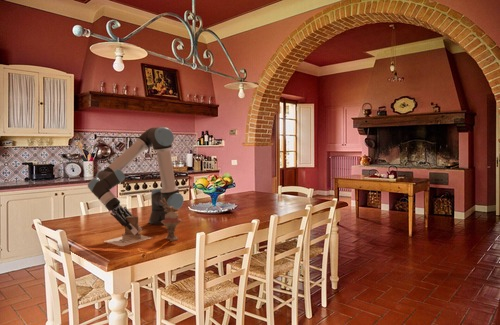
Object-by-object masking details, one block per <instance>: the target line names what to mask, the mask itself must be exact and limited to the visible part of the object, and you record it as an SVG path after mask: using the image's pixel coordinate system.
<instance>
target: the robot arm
mask: <svg viewBox="0 0 500 325" xmlns="http://www.w3.org/2000/svg"><path fill="white" fill-rule="evenodd" d="M135 139H136V140H135V142H133V144H131V145H130V146H129V147H128V148H126V150H124V152H123V153H121V154H120V155H119V156H118V157H117V158H116V159H114V160H113V161H112V162H110V164H108V166H106V167H105V168H104V169H103V170H100V171H98V172H97V173H96V174H95V178H92V179H91V180H90V181H89V182H88V183H87V188H88V189H89V190H90V192H91V193H92V194H93V195H94V196H95V197H96V198H97V199H98V200H99V201H100V202H101V204H102V205H103V206H104V207H105V209H107V210H108V211H109V212H110V211H111V212H110V215H111V216H112V217H113V218H114V219H115V220H116V221H117V222H118V223H119V224H120V225H121V227H123V228H125V227H126V226H127V228H128V229H129V230H130V231H131V232H132V233H133V234H134V235H135V234H136V233H137V232H138V233H140V232H141V231H142V230H143V228H142V227H141V226H140V225H139V224H138V231H137V229H136V228H135V227H134V226H133V225H132V224H131V223H129V222H128V221H127V219H126V218H125V217H128V216H134V215H133V214H132V212H130V210H129V209H128V208H127V206H122V205H121V201H120V200H119V199H118V197H116V195H115V194H114V193H113V192H112V191H111V190H112V189H113V188H114V187H115V186H117V185H119V184H120V183H122V182H123V181H124V180H125V179H126V175H125V173H124V172H123V170H124V169H125V168H127V167H128V165H130V164H131V163H132V162H133V161H134V160H135V159H137V157H139V156H140V155H141V154H142V153H143V152H144V151H148V150H149V149H150V148H152V149H153V150H152V151H154V152H156V159H157V163H158V171H159V175H160V177H159V178H160V183H161V187H162V188H157V189H156V188H155V189H152V190H151V193H150V198H151V212H150V216H149V219H148V224H150V225H156V226H157V225H159V226H160V225H164V224H163V223H161V221H162V220H165V215H166V214H167V212H165V211H164V210H165V208H163V207H166V206H165V205H163V204H162V203H161V202H160V200H161V201H162V202H163V203H165V202H164V200H163V198H165V200H166V202H167V204H168V206H169V207H170V206H173V207H174V208H175V209H178V210H179V209H181V207H182V206H183V204H184V196H183V195H182V193H180V189H179V187H178V186H177V185H176V179H175V173H174V168H173V167H174V166H173V161H172V153H171V149H172V147H173V145H172V144H173V142H174V141H175V136H174V132H173V131H172V130H171V129H170V128H168V127H166V126H165V127H164V126H159V127H158V126H157V127H150V128H148V129H146V130H145V131H144V132H143V133H141V134H140V135H139V136H138V137H137V138H135Z"/></svg>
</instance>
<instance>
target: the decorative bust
mask: <svg viewBox="0 0 500 325" xmlns="http://www.w3.org/2000/svg"><path fill="white" fill-rule="evenodd" d="M163 200H164V202H165V203H163V202H162V201H161V200H160V202H161V203H162V204H163V205H165V206H166V207H163V208H165V210H164V211H165V212H167V214H166V215H165V220H162V221H161V223H163V224H162V225H163V226H165V227H166V229H167V230H166V231H167V236H165V239H167V242H174V241H175V242H177V241H178V236H177V235H175V232H176V227H177V225H179V224H181V223H182V222H183V220H182V219H180V218H179V214H178V213H177V212H178V211H179V209H175V208H174V207H173V206H170V207H169V206H168V204H167V202H166V200H165V198H163Z"/></svg>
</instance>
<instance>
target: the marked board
mask: <svg viewBox="0 0 500 325" xmlns="http://www.w3.org/2000/svg"><path fill="white" fill-rule="evenodd" d="M149 239H150V240H151V239H152V236H151V237H150V236H147V235H143V234H141V238H140V239H138V240H131V239H122V236H120V237H119V236H118V237H115V238H111V239H107V240H103V242H104V243H108V244H112V245H115V246H118V247H125V246H128V245H129V246H130V245H131V244H136V243H139V242H144V241H146V240H149Z"/></svg>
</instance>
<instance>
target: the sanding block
mask: <svg viewBox="0 0 500 325" xmlns="http://www.w3.org/2000/svg"><path fill="white" fill-rule="evenodd" d="M125 218H126V219H127V221H128V222H129V223H131V224H132V225H133V226H134V227H135V228H136V229H137V231H138V225H139V216H134V215H133V216H128V217H125ZM141 235H142V234H141V233H140V232H139V233H138V232H137V233H136V234H135V235H134V234H133V233H132V232H131V231H130V230H129V229H128V228H127V226H126V227H124V233H123V234H122V235H121V237H122V239H131V240H138V239H140V238H141Z"/></svg>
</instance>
